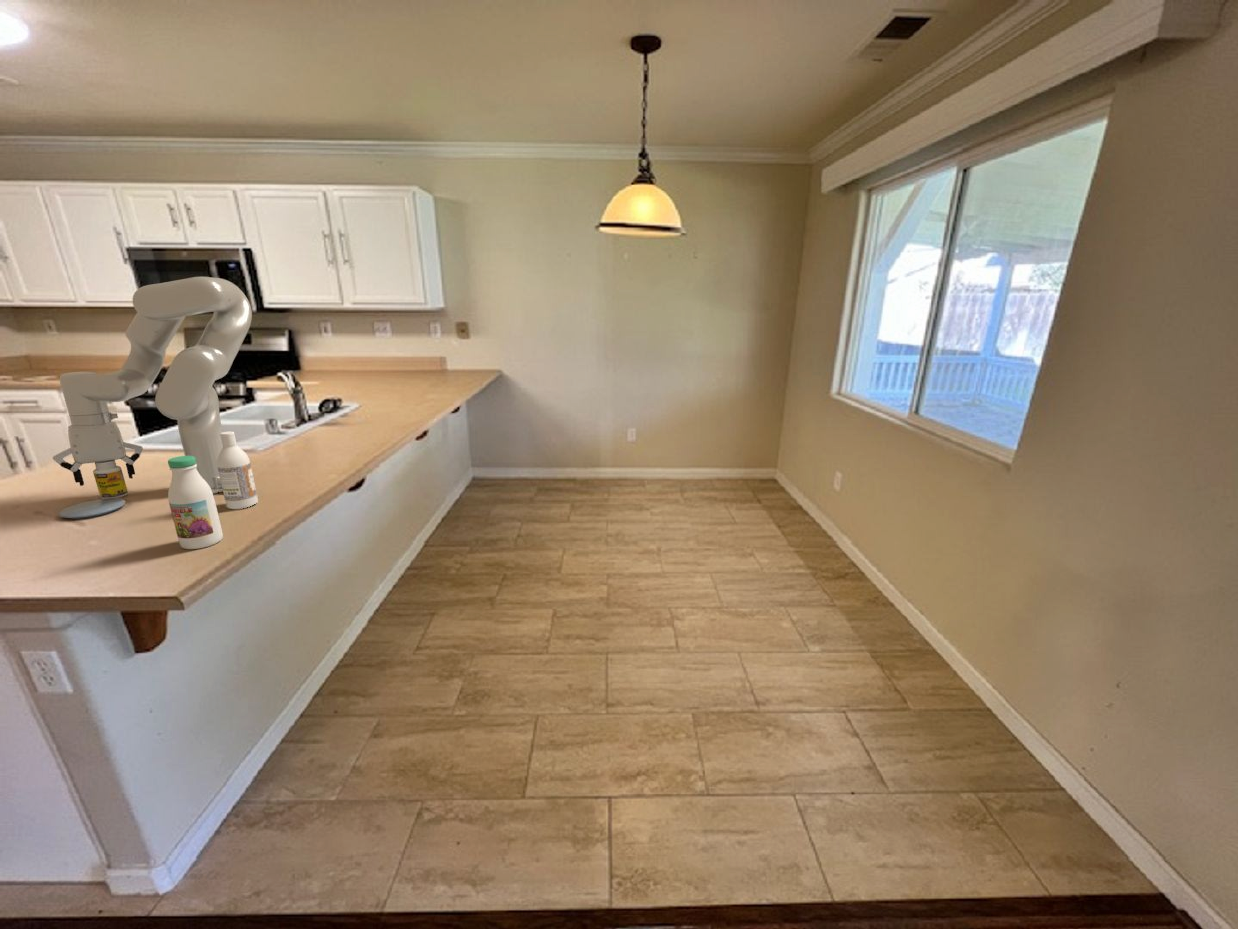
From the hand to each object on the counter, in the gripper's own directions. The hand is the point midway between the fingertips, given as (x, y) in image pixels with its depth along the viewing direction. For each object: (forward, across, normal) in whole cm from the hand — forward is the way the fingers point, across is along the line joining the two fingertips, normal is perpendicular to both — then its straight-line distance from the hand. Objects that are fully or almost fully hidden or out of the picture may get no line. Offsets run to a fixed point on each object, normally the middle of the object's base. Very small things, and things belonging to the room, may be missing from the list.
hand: (107, 480), depth 141 cm
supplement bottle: (+5, -1, 0) cm, 5 cm away
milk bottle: (+4, -13, +52) cm, 54 cm away
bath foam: (+4, -25, +32) cm, 40 cm away
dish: (+5, +4, +11) cm, 12 cm away
